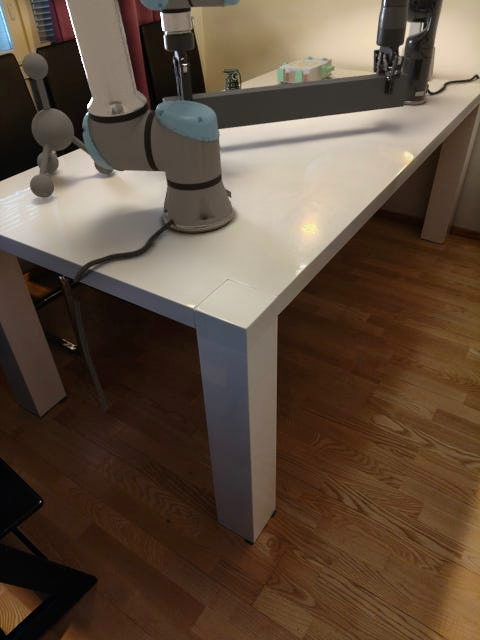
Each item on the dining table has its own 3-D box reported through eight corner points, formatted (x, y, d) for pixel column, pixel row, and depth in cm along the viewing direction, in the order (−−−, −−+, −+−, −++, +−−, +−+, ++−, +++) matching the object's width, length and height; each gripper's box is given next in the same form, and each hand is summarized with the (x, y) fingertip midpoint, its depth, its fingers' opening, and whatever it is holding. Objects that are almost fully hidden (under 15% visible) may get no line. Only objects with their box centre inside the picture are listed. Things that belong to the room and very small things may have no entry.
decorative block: (300, 55, 216) (341, 58, 206) (299, 71, 220) (340, 74, 210) (268, 66, 200) (311, 70, 190) (268, 83, 204) (310, 87, 194)
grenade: (223, 100, 185) (221, 71, 179) (226, 96, 190) (225, 68, 184) (239, 100, 184) (238, 71, 178) (243, 96, 188) (242, 68, 182)
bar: (169, 135, 134) (164, 102, 128) (167, 130, 137) (162, 97, 132) (403, 106, 145) (408, 74, 140) (395, 102, 149) (399, 71, 143)
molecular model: (125, 187, 123) (98, 53, 104) (35, 204, 117) (-11, 66, 98) (110, 158, 140) (84, 39, 122) (30, 172, 134) (-9, 49, 116)
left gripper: (198, 35, 115) (207, 135, 130) (187, 26, 129) (196, 117, 144) (167, 38, 114) (179, 138, 128) (159, 28, 128) (171, 120, 142)
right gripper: (418, 27, 128) (407, 96, 138) (392, 21, 139) (384, 85, 150) (392, 29, 127) (383, 99, 137) (367, 23, 138) (361, 88, 148)
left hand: (188, 127), depth 136 cm, fingers closed on bar, 5 cm apart
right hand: (383, 91), depth 143 cm, fingers closed on bar, 5 cm apart
